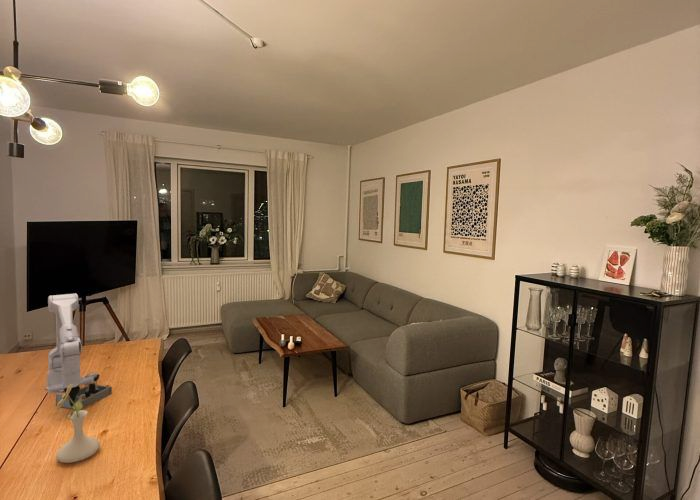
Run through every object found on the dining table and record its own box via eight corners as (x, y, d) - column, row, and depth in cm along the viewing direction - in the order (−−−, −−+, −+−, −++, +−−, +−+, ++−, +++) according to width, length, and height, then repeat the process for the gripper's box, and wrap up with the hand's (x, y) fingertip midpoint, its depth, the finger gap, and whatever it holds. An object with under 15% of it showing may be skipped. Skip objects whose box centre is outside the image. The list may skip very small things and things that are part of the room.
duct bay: (59, 405, 148) (59, 397, 148) (91, 390, 162) (91, 383, 162) (81, 409, 146) (81, 401, 145) (111, 393, 159) (111, 386, 159)
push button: (79, 401, 152) (79, 378, 151) (81, 395, 156) (81, 373, 156) (99, 398, 155) (98, 375, 154) (100, 393, 159) (100, 370, 159)
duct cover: (55, 406, 147) (54, 394, 146) (58, 404, 148) (57, 392, 148) (78, 410, 145) (78, 397, 144) (81, 408, 146) (81, 396, 145)
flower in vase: (71, 444, 123) (70, 372, 121) (107, 444, 124) (106, 372, 122) (42, 470, 110) (40, 391, 108) (82, 470, 111) (81, 390, 109)
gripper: (50, 380, 134) (51, 415, 135) (96, 368, 146) (96, 401, 147) (45, 375, 139) (46, 409, 140) (90, 364, 150) (90, 396, 151)
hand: (71, 405), depth 143 cm, fingers closed
